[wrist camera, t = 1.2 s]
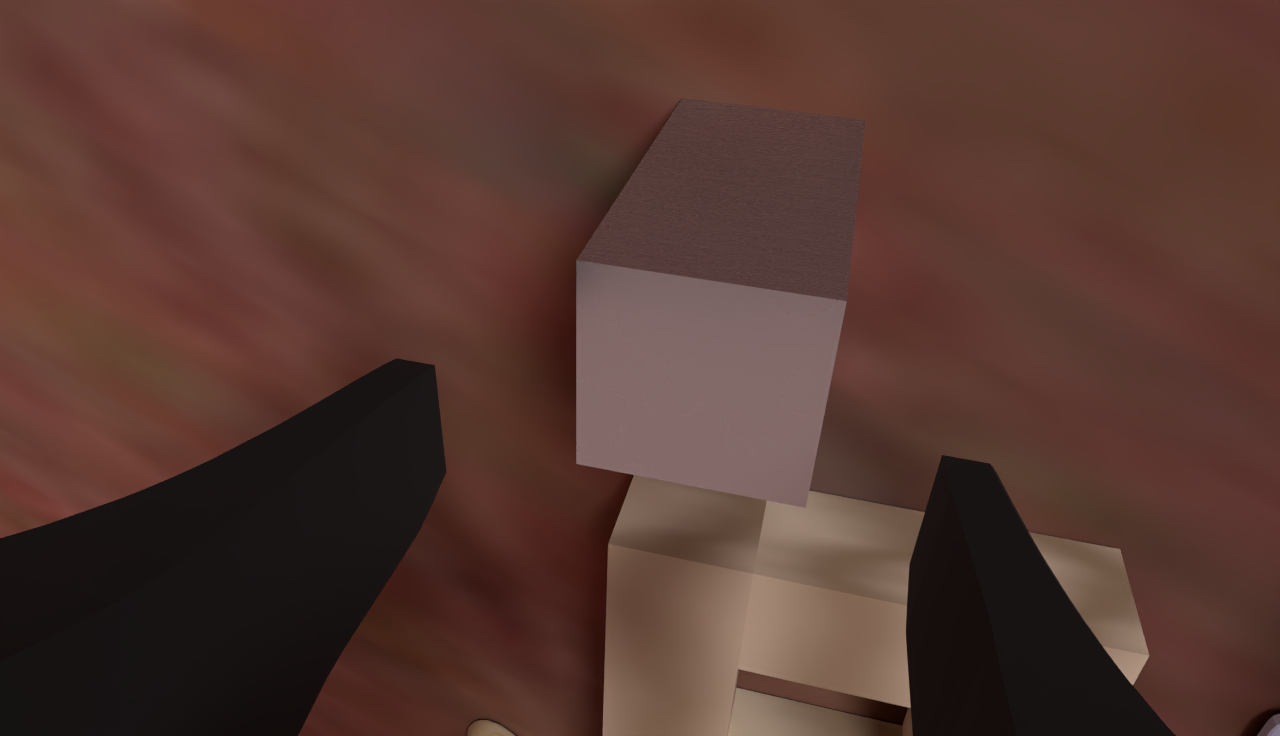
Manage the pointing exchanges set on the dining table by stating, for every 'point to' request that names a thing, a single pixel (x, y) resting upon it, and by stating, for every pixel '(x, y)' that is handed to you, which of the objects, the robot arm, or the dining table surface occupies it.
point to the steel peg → (719, 301)
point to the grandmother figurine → (487, 729)
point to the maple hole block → (788, 610)
